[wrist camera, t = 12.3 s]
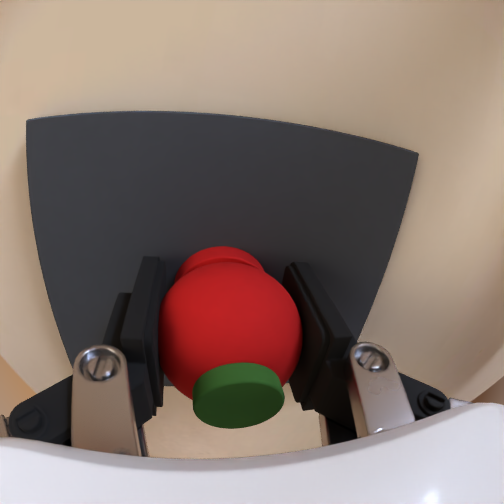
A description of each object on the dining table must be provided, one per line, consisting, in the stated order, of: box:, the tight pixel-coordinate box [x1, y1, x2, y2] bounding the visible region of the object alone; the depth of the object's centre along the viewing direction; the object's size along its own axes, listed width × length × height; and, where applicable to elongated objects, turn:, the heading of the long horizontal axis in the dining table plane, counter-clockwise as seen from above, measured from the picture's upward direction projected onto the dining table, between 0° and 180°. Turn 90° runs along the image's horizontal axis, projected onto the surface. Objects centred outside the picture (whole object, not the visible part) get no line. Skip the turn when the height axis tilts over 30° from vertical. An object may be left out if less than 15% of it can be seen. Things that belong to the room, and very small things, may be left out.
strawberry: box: [158, 246, 303, 429], centre depth 9 cm, size 4×4×5 cm
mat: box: [26, 111, 419, 386], centre depth 11 cm, size 14×12×1 cm
